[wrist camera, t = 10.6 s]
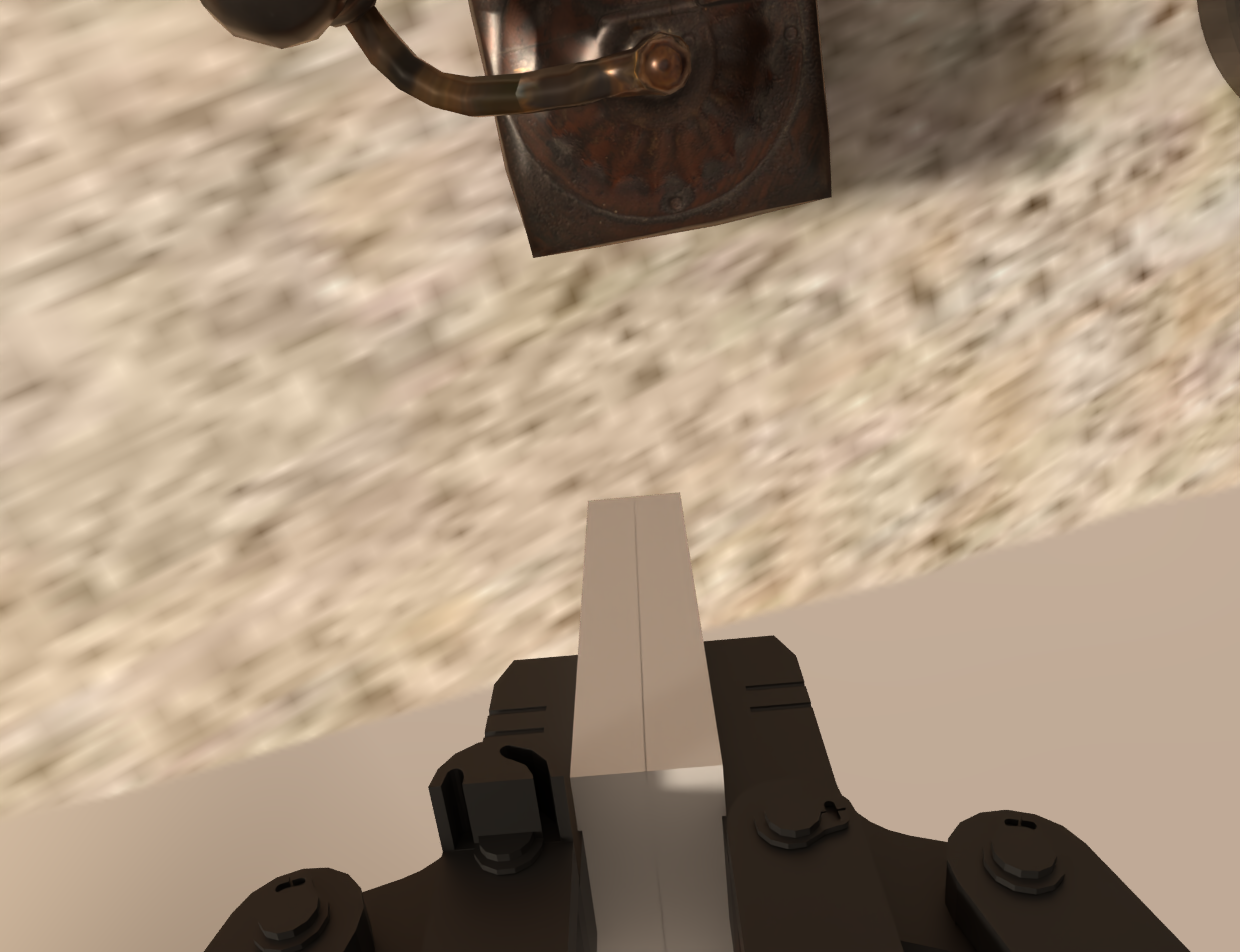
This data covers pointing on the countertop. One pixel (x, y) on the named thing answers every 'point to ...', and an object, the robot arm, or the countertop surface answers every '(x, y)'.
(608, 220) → the manual coffee grinder
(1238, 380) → the countertop surface
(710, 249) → the countertop surface
